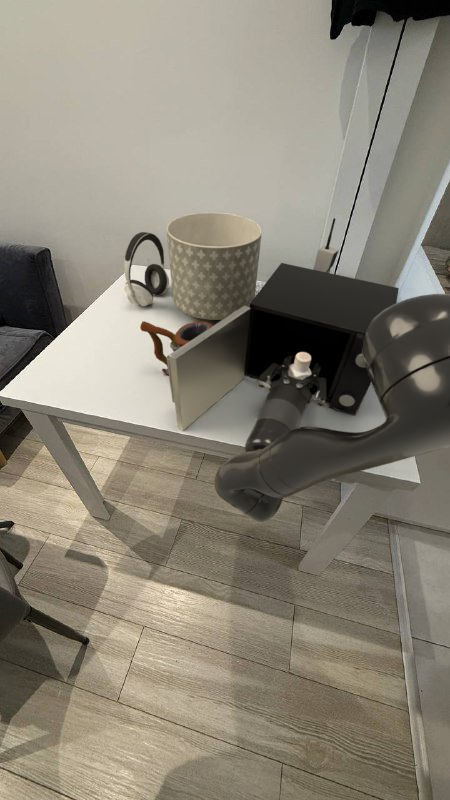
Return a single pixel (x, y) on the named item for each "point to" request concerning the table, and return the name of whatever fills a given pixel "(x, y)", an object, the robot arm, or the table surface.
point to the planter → (213, 263)
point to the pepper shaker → (300, 366)
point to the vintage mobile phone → (326, 255)
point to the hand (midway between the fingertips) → (303, 362)
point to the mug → (173, 337)
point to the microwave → (316, 328)
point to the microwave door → (208, 366)
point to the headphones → (153, 275)
